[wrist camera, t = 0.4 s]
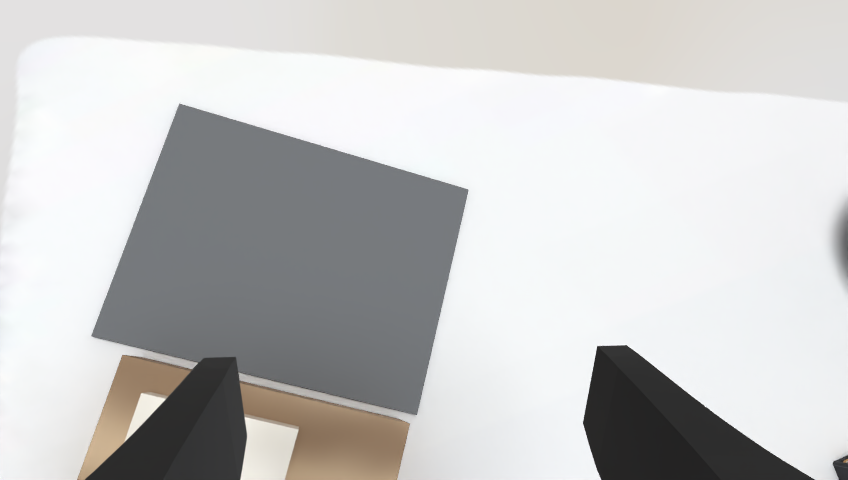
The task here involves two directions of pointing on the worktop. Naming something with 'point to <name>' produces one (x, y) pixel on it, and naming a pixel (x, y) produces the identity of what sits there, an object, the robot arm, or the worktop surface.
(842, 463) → the ammunition clip
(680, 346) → the worktop surface
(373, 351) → the mat
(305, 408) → the butcher block
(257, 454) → the cream flat block
